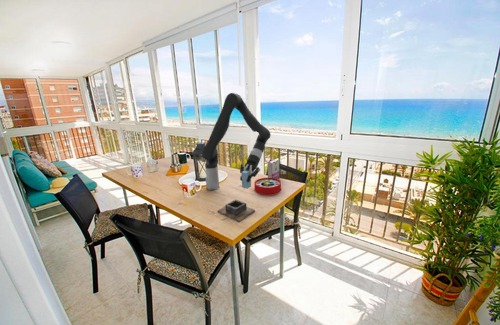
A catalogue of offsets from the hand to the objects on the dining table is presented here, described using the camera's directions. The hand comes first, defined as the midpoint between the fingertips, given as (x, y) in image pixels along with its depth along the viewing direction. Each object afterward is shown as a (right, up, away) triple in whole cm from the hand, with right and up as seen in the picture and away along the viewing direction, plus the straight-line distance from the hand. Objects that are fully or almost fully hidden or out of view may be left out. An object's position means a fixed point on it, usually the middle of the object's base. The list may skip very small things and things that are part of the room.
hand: (244, 181), depth 118 cm
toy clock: (+17, -10, +30) cm, 36 cm away
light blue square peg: (+1, -4, +3) cm, 5 cm away
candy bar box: (+24, -3, +50) cm, 55 cm away
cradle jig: (-5, -19, 0) cm, 19 cm away
